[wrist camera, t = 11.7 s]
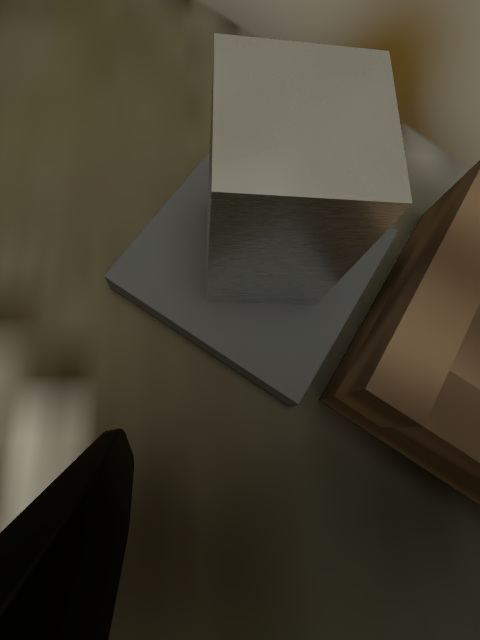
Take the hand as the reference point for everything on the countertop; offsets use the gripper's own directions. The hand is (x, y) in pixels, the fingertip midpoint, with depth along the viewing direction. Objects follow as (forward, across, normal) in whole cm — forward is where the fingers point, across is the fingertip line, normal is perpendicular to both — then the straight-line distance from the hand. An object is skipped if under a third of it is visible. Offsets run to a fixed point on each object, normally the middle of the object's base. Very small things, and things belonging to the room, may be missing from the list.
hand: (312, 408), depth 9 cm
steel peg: (+10, 0, -1) cm, 10 cm away
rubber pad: (+11, 0, 0) cm, 11 cm away
